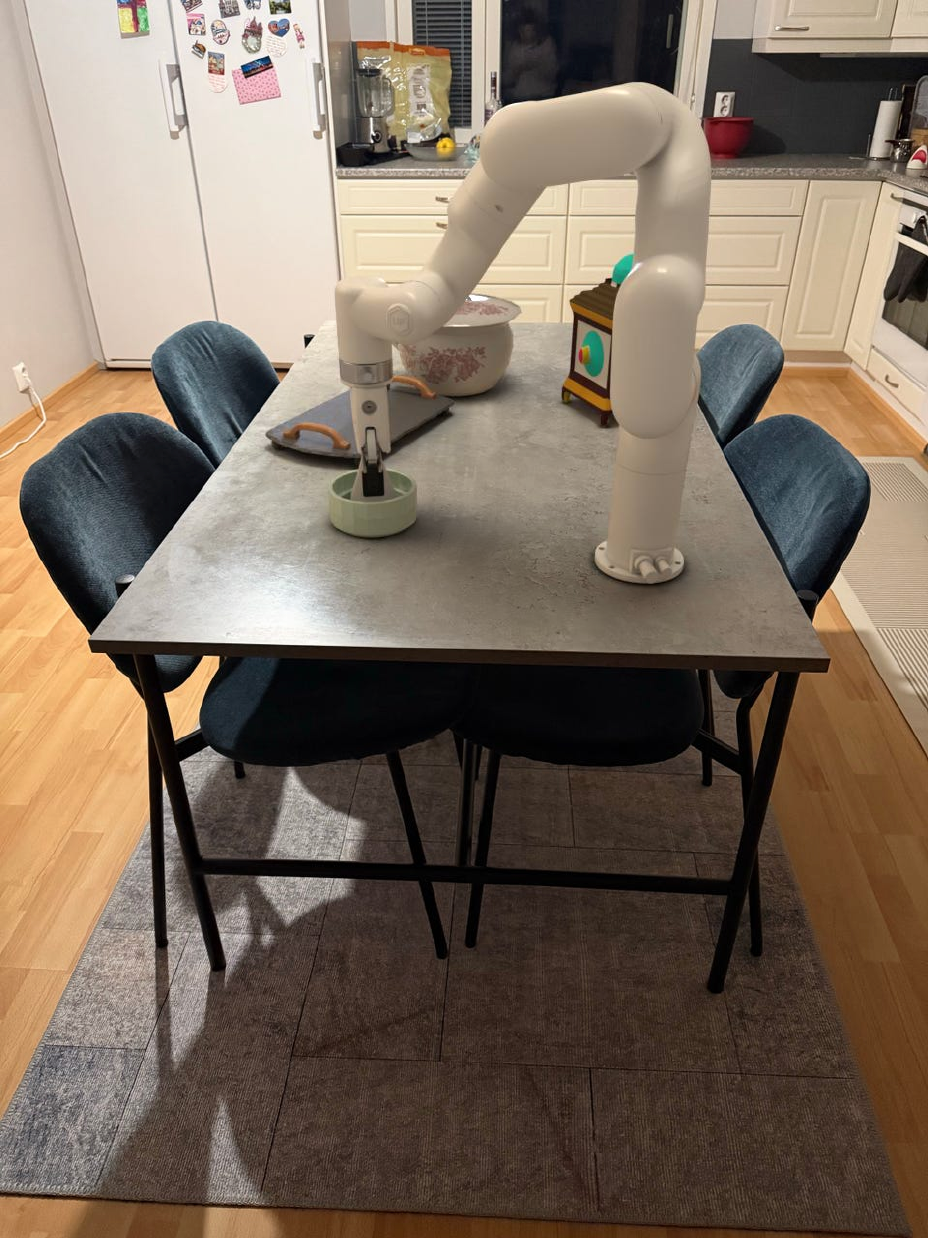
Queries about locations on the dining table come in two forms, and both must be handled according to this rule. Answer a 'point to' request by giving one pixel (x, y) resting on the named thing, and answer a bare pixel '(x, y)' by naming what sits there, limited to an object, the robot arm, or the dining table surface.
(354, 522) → the basin
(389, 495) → the flask
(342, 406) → the serving tray
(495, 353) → the chamber pot
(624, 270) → the decorative lantern
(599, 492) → the dining table surface
